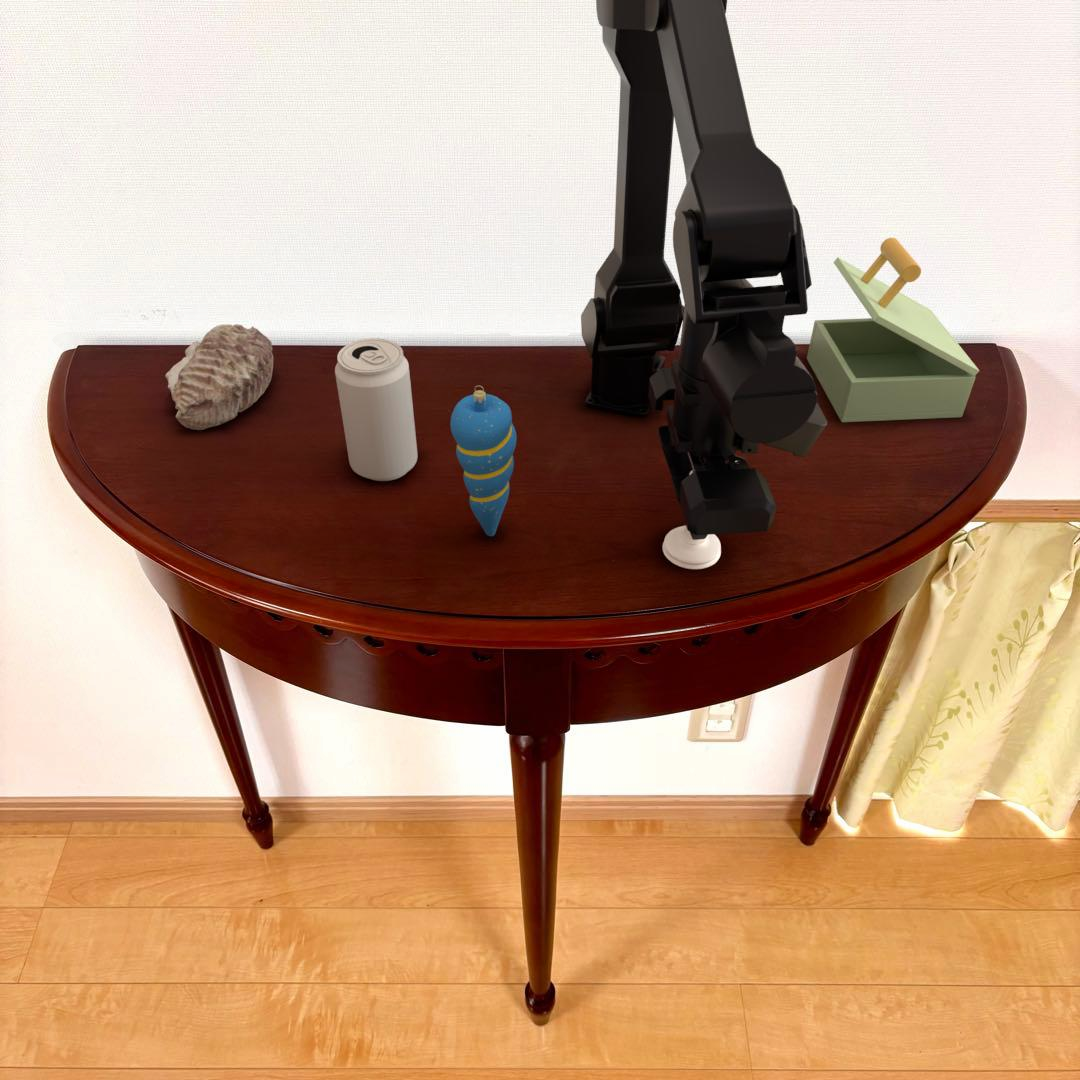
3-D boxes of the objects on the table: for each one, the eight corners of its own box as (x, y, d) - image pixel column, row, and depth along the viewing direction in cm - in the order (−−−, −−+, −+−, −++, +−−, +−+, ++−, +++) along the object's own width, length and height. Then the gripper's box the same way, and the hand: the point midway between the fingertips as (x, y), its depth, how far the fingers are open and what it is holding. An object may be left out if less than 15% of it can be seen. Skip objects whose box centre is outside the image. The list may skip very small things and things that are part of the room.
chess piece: (730, 543, 82) (746, 448, 76) (705, 577, 79) (720, 481, 72) (678, 524, 84) (690, 429, 78) (652, 555, 81) (662, 460, 74)
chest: (841, 422, 96) (851, 382, 93) (806, 358, 105) (814, 320, 102) (962, 417, 97) (975, 377, 94) (916, 354, 106) (927, 315, 103)
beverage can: (390, 437, 94) (377, 327, 86) (432, 465, 90) (422, 353, 83) (336, 464, 91) (317, 353, 83) (378, 495, 87) (362, 381, 79)
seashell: (189, 333, 104) (213, 269, 96) (271, 373, 107) (301, 314, 100) (139, 429, 95) (161, 366, 87) (230, 468, 98) (259, 411, 91)
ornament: (510, 558, 81) (506, 408, 71) (451, 550, 81) (439, 401, 72) (523, 519, 85) (521, 372, 75) (467, 512, 85) (457, 365, 75)
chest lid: (874, 321, 89) (915, 271, 86) (833, 262, 98) (869, 215, 95) (974, 376, 93) (1017, 331, 90) (926, 315, 103) (963, 272, 100)
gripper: (869, 432, 63) (823, 601, 73) (791, 299, 77) (762, 456, 87) (701, 439, 62) (679, 608, 73) (654, 304, 76) (641, 462, 87)
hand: (695, 527), depth 80 cm, fingers closed on chess piece, 2 cm apart
